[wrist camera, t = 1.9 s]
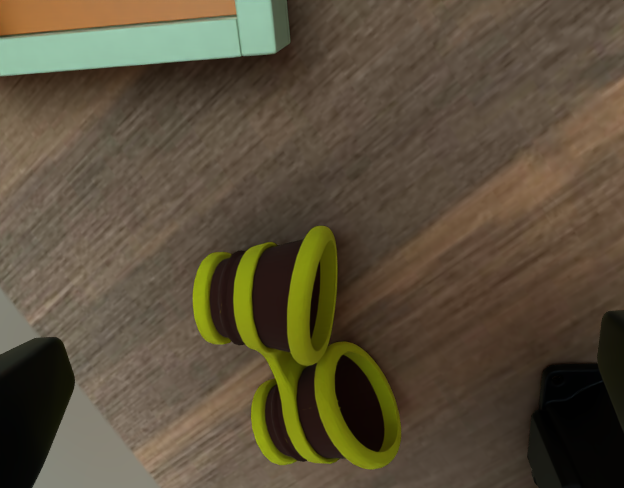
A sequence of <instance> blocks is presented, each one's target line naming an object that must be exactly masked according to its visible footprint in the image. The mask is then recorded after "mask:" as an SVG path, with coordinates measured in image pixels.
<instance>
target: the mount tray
mask: <svg viewBox="0 0 624 488" xmlns="http://www.w3.org/2000/svg"><path fill="white" fill-rule="evenodd" d="M290 42H291V41H290V30H289V19H288V8H287V0H0V76H11V75H23V74H35V73H48V72H60V71H72V70H85V69H97V68H109V67H122V66H134V65H146V64H159V63H171V62H183V61H196V60H208V59H220V58H233V57H241V56H242V55H243V56H256V55H268V54H275V53H277V52H278V51H280V50H281V49H282V48H284V47H285V46H287V45H288V44H290Z"/></svg>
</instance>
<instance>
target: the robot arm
mask: <svg viewBox="0 0 624 488" xmlns="http://www.w3.org/2000/svg"><path fill="white" fill-rule="evenodd" d="M597 362H598V364H562V365H551V366H549V367H547V368H546V369H545V370H544V371H543V374H542V381H541V390H540V399H539V409H538V410H535V412H534V413H533V414H532V416H531V425H530V435H529V445H528V455H527V457H528V460H529V463H530V466H531V468H532V477H533V479H534V482H535V483H536V485H538V487H539V488H624V310H614V311H607V312H606V313H605V314H604V315H603V318H602V321H601V329H600V337H599V345H598V353H597ZM558 375H559V376H560V377H559V378H558V379H552V378H553V377H555V376H558ZM74 385H75V377H74V373H73V370H72V367H71V364H70V361H69V358H68V355H67V352H66V349H65V346H64V344H63V342H62V341H61V340H60V339H59V338H57V337H44V338H34V339H32V340H30V341H28V342H26V343H23V344H21V345H19V346H17V347H15V348H13V349H11V350H9V351H7V352H5V353H3V354H0V488H32V487H33V485H34V483H35V481H36V479H37V477H38V475H39V473H40V471H41V469H42V467H43V464H44V462H45V460H46V458H47V455H48V453H49V450H50V448H51V445H52V443H53V440H54V438H55V435H56V433H57V430H58V428H59V425H60V423H61V420H62V418H63V415H64V413H65V410H66V408H67V405H68V403H69V400H70V397H71V395H72V393H73V390H74Z"/></svg>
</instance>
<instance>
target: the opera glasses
mask: <svg viewBox="0 0 624 488" xmlns="http://www.w3.org/2000/svg"><path fill="white" fill-rule="evenodd" d="M337 277H338V263H337V249H336V242H335V238H334V235H333V232H332V231H331V230H330V229H329V228H328V227H326V226H316V227H314V228H312V229H311V230H310V231H309V232H308V233H307V235H306V237H305V239H303V240H299V241H295V242H291V243H287V244H283V245H279V246H278V245H277V244H275V243H273V242H268V243H264V244H260V245H256V246H254V247H251V248H249V249H248V250H247V251H237V252H235V253H234V254H233V255H232V254H230V253H227V252H215V253H211V254H209V255H208V256H207V257H206V258H205V259H204V260H203V261H202V263H201V265H200V267H199V268H198V271H197V274H196V277H195V281H194V289H193V310H194V317H195V321H196V324H197V327H198V330H199V332H200V334H201V335H202V337H203V338H204V339H205V340H206V341H208V342H210V343H212V344H227V343H230V342H231V341H232V342H233V343H234V344H237V345H245V344H246V346H248V347H249V348H250V349H254V350H257V351H258V352H260V353H261V354H262V355H263V356H264V357H265V359H266V360H267V362H268V364H269V366H270V368H271V370H272V372H273V375H274V377H275V379H271V380H268V381H266V382H264V383H262V384H261V385H260V386H259V387H258V389H257V391H256V393H255V394H254V397H253V402H252V406H251V421H252V429H253V432H254V436H255V439H256V442H257V444H258V446H259V448H260V449H261V451H262V453H263V455H264V456H266V457H267V458H268V459H269V460H270V461H271V462H273V463H276V464H279V465H287V464H291V463H294V462H296V461H307V460H308V461H309V462H313V463H328V464H332V463H334V462H336V461H338V460H339V459H348V460H349V461H350V462H351V463H353V464H354V465H357V466H359V467H361V468H364V469H371V470H372V469H378V468H382V467H384V466H386V465H388V464H389V463H390V462H391V461H392V460H393V459H394V457H395V456H396V454H397V452H398V450H399V446H400V442H401V422H400V415H399V411H398V408H397V404H396V400H395V398H394V395H393V393H392V390H391V387H390V385H389V383H388V381H387V380H386V378H385V376H384V374H383V373H382V371H381V369H380V368H379V366H378V365H377V364H376V362H375V361H374V360H373V359H372V358H371V357H370V356H369V354H368V353H367V352H365V351H364V350H363V349H362V348H360V347H359V346H357V345H355V344H353V343H350V342H346V341H342V342H335V343H333V344H331V345H329V346H328V343H329V340H330V336H331V332H332V326H333V320H334V314H335V305H336V296H337ZM314 327H315V328H314ZM327 346H328V347H327ZM372 386H373V387H372ZM382 444H383V445H382Z"/></svg>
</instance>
